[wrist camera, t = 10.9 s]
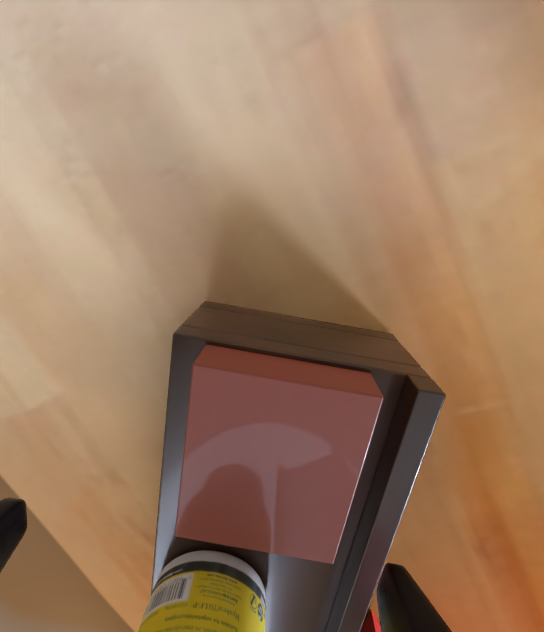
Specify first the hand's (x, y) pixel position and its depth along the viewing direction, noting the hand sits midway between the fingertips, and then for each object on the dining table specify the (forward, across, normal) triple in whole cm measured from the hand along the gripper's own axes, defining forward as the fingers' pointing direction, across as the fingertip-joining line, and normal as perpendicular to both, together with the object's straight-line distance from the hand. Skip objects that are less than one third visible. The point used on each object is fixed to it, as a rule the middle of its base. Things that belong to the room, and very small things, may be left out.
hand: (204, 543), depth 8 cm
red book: (+6, -2, +1) cm, 6 cm away
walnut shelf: (+10, -2, +7) cm, 13 cm away
